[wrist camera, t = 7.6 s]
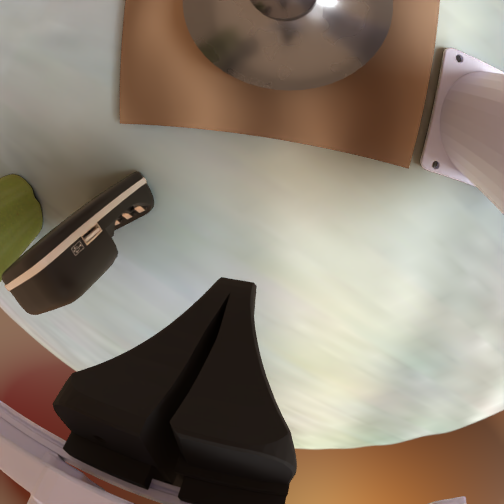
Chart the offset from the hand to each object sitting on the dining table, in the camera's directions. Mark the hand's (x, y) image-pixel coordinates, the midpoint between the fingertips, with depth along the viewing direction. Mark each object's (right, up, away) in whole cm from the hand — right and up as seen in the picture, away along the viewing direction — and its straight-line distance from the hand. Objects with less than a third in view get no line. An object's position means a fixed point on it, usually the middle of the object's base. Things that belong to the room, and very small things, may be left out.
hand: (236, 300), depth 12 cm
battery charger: (-9, +6, +12) cm, 16 cm away
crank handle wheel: (+4, +16, -1) cm, 17 cm away
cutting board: (+2, +17, +1) cm, 18 cm away
